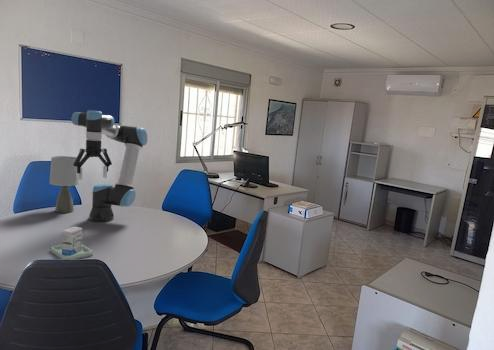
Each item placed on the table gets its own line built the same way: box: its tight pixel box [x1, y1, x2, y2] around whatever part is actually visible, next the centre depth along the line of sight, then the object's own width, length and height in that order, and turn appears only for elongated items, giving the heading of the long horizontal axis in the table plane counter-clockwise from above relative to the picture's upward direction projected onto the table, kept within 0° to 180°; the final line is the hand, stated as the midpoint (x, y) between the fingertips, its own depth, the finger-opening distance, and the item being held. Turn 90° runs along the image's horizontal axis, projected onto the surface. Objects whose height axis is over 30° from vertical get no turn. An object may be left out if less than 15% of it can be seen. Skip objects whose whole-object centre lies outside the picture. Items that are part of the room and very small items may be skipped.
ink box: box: [61, 226, 83, 255], centre depth 165 cm, size 9×5×12 cm, turn 168°
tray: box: [50, 243, 94, 260], centre depth 166 cm, size 13×16×2 cm
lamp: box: [48, 155, 81, 214], centre depth 229 cm, size 19×19×37 cm
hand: (93, 178), depth 184 cm, fingers open, 13 cm apart
